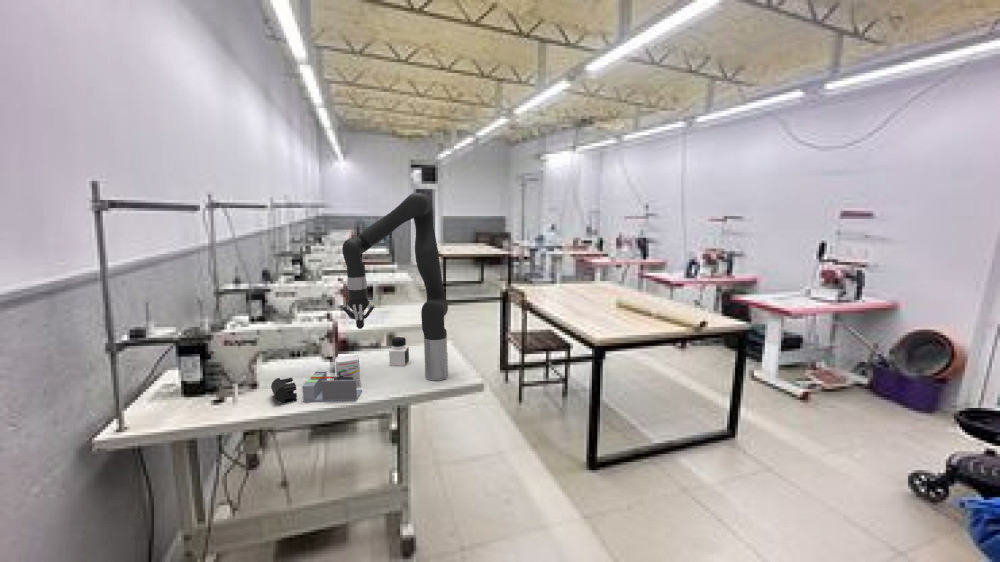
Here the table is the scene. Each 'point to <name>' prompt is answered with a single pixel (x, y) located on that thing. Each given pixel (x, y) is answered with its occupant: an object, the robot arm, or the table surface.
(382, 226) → the robot arm
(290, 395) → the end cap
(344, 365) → the ink box
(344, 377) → the plunger
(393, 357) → the medicine bottle
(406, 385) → the table surface
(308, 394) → the gauge body
